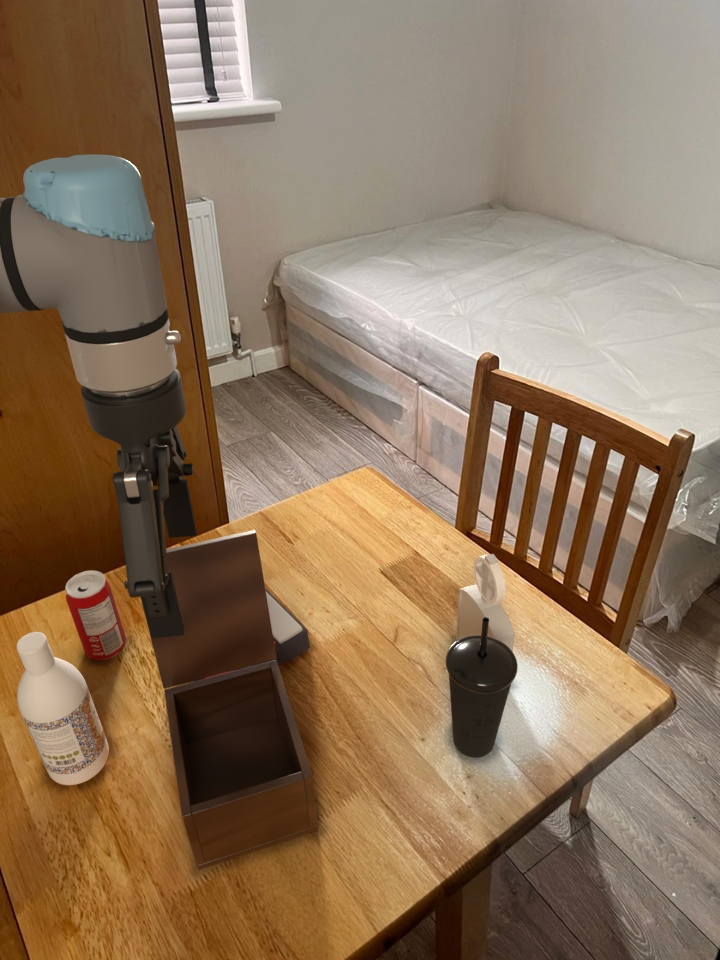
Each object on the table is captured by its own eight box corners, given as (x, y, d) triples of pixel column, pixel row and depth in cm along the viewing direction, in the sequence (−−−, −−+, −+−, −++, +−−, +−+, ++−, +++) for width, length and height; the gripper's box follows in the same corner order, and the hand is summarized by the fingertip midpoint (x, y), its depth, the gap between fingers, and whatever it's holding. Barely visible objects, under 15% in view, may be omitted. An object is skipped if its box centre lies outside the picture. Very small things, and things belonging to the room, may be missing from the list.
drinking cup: (430, 724, 88) (435, 604, 77) (486, 705, 90) (500, 585, 79) (459, 778, 82) (470, 656, 71) (518, 756, 84) (538, 634, 73)
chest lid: (256, 532, 77) (254, 529, 77) (131, 560, 73) (131, 556, 74) (276, 658, 84) (275, 654, 84) (163, 689, 80) (162, 684, 81)
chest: (318, 830, 78) (312, 775, 72) (197, 871, 74) (182, 816, 69) (283, 714, 90) (276, 659, 84) (178, 744, 87) (163, 689, 81)
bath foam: (116, 770, 84) (73, 650, 73) (54, 798, 81) (-1, 679, 70) (102, 726, 89) (60, 608, 78) (43, 751, 86) (-10, 632, 75)
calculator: (167, 636, 96) (263, 582, 103) (174, 658, 98) (267, 603, 106) (207, 688, 89) (307, 626, 96) (213, 710, 91) (311, 648, 98)
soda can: (101, 627, 103) (80, 563, 96) (134, 636, 101) (115, 572, 94) (76, 656, 98) (52, 591, 92) (111, 666, 97) (89, 601, 90)
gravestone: (473, 634, 100) (483, 531, 90) (507, 685, 93) (522, 580, 82) (455, 639, 99) (462, 536, 89) (488, 692, 92) (500, 586, 82)
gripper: (159, 459, 46) (207, 681, 58) (192, 311, 67) (223, 498, 79) (38, 469, 46) (112, 690, 58) (109, 316, 66) (152, 504, 78)
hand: (176, 580), depth 68 cm, fingers open, 13 cm apart
